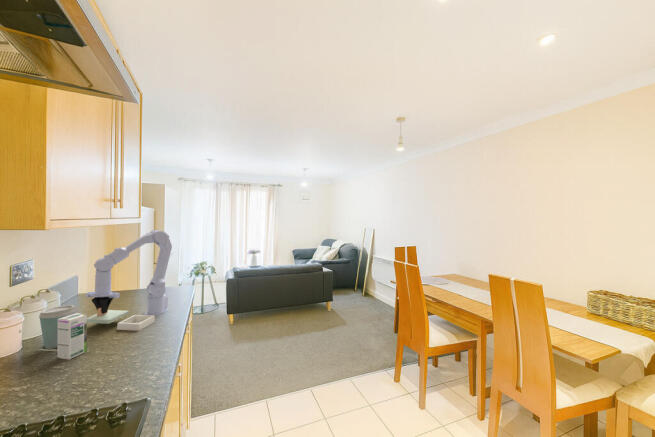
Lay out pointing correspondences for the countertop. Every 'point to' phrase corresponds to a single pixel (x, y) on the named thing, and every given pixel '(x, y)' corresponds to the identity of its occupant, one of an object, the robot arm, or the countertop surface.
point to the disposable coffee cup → (53, 323)
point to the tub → (136, 322)
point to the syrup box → (72, 335)
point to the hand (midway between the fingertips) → (102, 312)
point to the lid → (107, 316)
